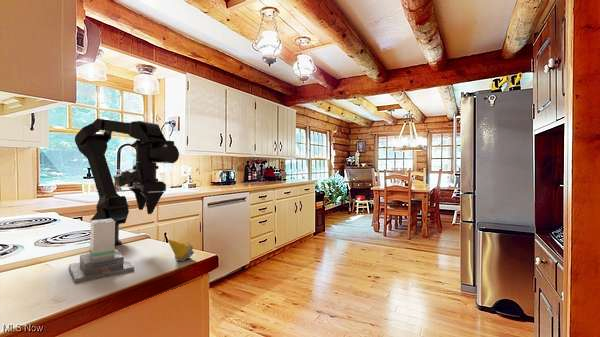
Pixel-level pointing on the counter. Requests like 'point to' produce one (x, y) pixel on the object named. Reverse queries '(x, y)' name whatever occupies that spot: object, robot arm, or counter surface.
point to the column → (102, 238)
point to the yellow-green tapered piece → (181, 250)
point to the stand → (99, 267)
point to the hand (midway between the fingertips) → (145, 211)
